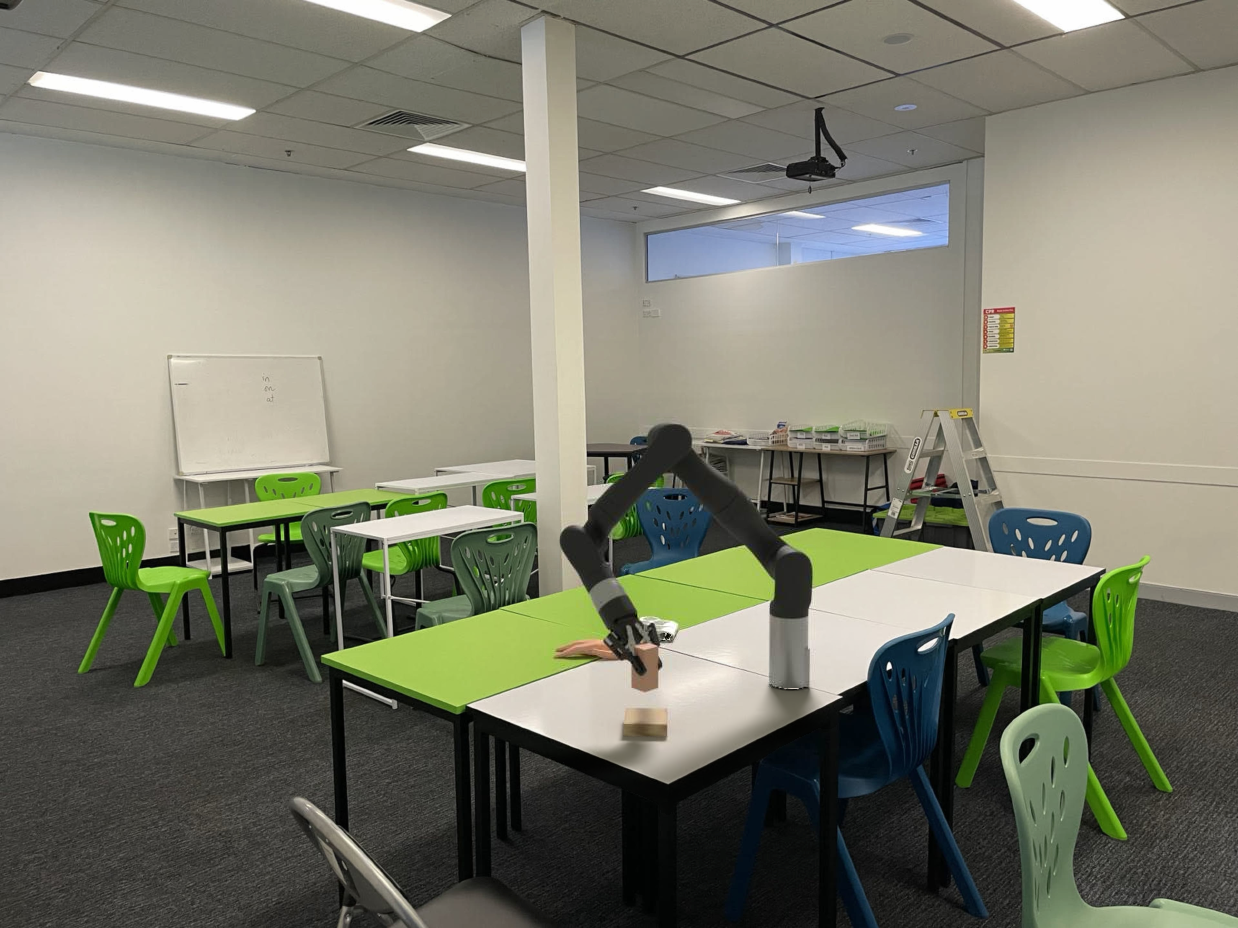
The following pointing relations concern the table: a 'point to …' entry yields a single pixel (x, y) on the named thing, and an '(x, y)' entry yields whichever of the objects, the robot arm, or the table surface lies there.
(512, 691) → the table surface
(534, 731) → the table surface
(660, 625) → the white dimpled tray
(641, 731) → the base slab
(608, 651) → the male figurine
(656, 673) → the block
